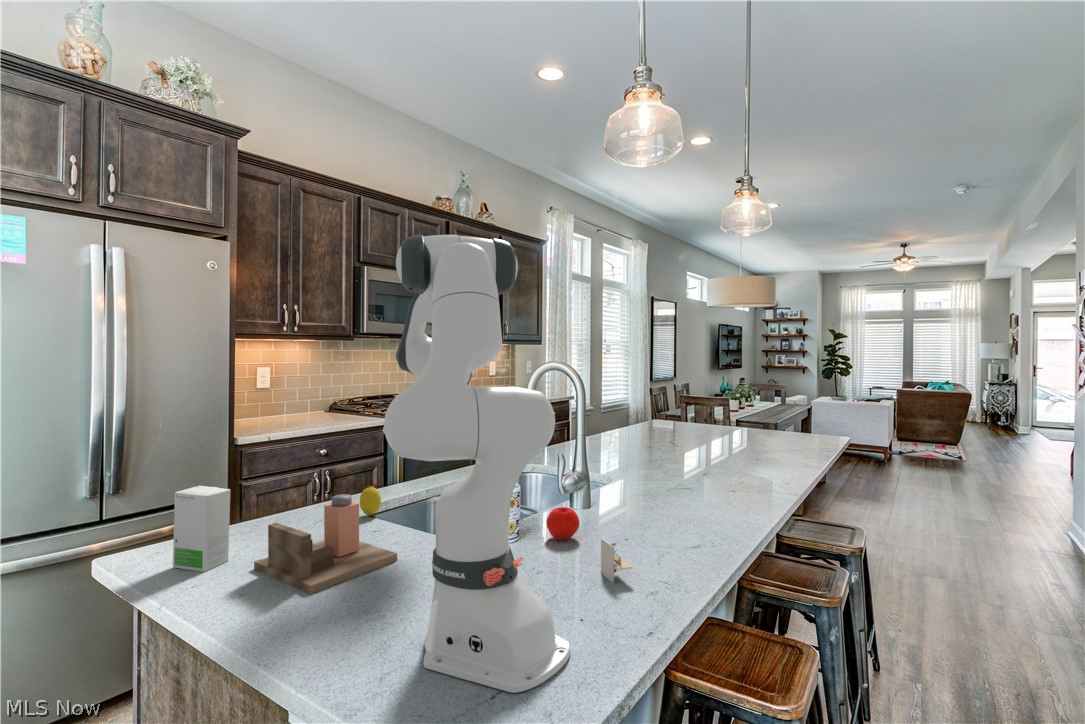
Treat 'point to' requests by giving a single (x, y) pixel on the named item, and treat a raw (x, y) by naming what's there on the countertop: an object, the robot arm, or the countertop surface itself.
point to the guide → (315, 560)
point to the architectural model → (611, 560)
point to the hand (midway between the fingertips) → (400, 455)
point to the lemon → (370, 500)
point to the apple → (562, 523)
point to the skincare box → (201, 528)
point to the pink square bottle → (341, 525)
